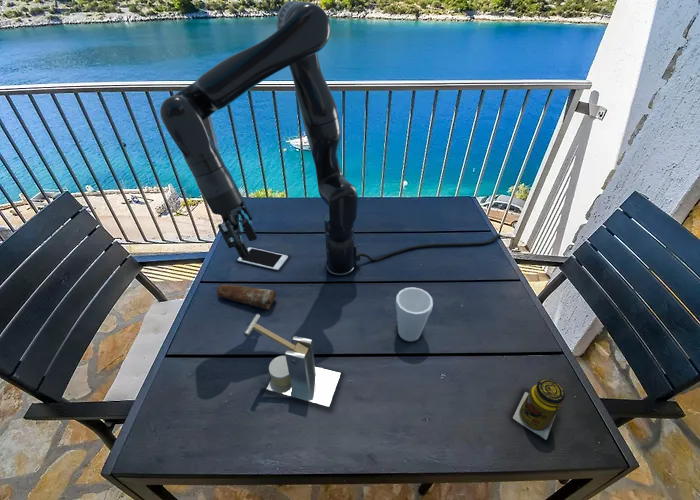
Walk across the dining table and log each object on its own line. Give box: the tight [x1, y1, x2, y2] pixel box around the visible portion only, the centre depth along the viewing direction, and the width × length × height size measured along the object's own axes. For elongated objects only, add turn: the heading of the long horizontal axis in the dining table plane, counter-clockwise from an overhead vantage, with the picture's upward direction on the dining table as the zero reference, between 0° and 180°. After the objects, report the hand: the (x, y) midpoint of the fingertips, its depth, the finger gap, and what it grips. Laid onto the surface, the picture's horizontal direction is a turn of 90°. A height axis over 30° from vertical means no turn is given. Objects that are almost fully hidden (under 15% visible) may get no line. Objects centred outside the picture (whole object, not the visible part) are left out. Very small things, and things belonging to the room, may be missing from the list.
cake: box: [268, 355, 291, 386], centre depth 85 cm, size 6×6×4 cm
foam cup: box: [395, 286, 434, 342], centre depth 94 cm, size 10×9×13 cm
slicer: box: [266, 335, 341, 408], centre depth 81 cm, size 16×9×15 cm, turn 74°
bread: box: [216, 284, 277, 310], centre depth 106 cm, size 6×19×6 cm, turn 72°
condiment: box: [512, 378, 566, 441], centre depth 76 cm, size 7×8×12 cm
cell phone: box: [237, 246, 289, 271], centre depth 123 cm, size 8×16×1 cm, turn 71°
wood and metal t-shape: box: [243, 313, 308, 355], centre depth 77 cm, size 14×6×2 cm, turn 73°
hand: (250, 248), depth 86 cm, fingers open, 8 cm apart
